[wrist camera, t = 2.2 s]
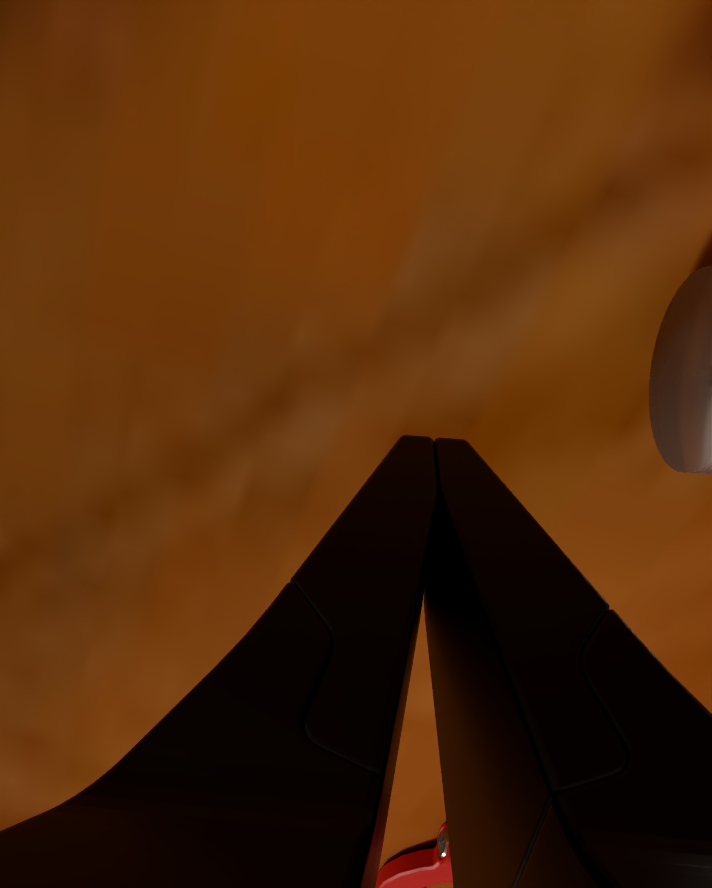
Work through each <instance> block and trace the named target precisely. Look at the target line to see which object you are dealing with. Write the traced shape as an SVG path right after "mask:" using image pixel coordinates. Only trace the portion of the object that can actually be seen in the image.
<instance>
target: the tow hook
mask: <svg viewBox="0 0 712 888" xmlns="http://www.w3.org/2000/svg"><path fill="white" fill-rule="evenodd" d="M447 882H453V878H452V868H451V859H450V849H449V840H448V831H447V823H444V824H443V825H442V826H441V829H440V831H439V834H438V839H437V846H436V847H435V848H431V849H424V850H419V851H415V852H412V853H408V854H405V855H401V856H399V857H398V858H396V859H394V860H392V861H390V862H389V863H387V864H385V865H384V866H383V868H382V869H381V870H380V871H379V873H378V876H377V882H376V888H424V887H427V886H431V885H435V884H439V883H447Z"/></svg>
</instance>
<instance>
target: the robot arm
mask: <svg viewBox="0 0 712 888" xmlns="http://www.w3.org/2000/svg"><path fill="white" fill-rule="evenodd" d="M423 594H424V611H425V623H426V632H427V642H428V651H429V661H430V670H431V679H432V689H433V698H434V708H435V717H436V727H437V736H438V746H439V755H440V764H441V774H442V783H443V793H444V802H445V812H446V821H447V831H448V840H449V849H450V859H451V868H452V878H453V887H454V888H712V714H711V713H710V712H709V711H708V710H707V709H706V708H705V707H704V706H703V705H702V704H701V703H700V702H699V701H698V700H697V699H696V698H695V697H694V696H693V695H692V694H691V693H690V692H689V691H688V690H687V689H686V688H685V687H684V686H683V685H682V684H681V683H680V682H679V681H678V680H677V679H676V678H675V677H674V676H673V675H672V674H671V673H670V672H669V671H668V670H667V669H666V668H665V667H664V665H663V664H662V663H661V662H660V661H659V660H658V659H657V658H656V657H655V656H654V655H653V653H652V652H651V651H650V650H649V649H648V648H647V647H646V646H645V645H644V644H643V643H642V641H641V640H640V639H639V638H638V637H637V636H636V635H635V634H634V633H633V631H632V630H631V629H630V628H629V627H628V626H627V625H626V623H625V622H624V621H623V620H622V619H621V618H620V616H619V615H618V614H617V613H616V612H615V611H614V610H609V604H608V603H607V602H606V601H605V600H604V598H603V597H602V596H601V595H600V594H599V593H598V592H597V590H596V589H595V588H594V587H593V586H592V585H591V583H590V582H589V581H588V580H587V579H586V578H585V577H584V575H583V574H582V573H581V572H580V571H579V570H578V568H577V567H576V566H575V565H574V564H573V563H572V562H571V560H570V559H569V558H568V557H567V556H566V555H565V553H564V552H563V551H562V550H561V549H560V548H559V547H558V545H557V544H556V543H555V542H554V541H553V540H552V538H551V537H550V536H549V535H548V534H547V533H546V532H545V530H544V529H543V528H542V527H541V526H540V525H539V523H538V522H537V521H536V520H535V519H534V518H533V517H532V515H531V514H530V513H529V512H528V511H527V510H526V508H525V507H524V506H523V505H522V504H521V503H520V502H519V500H518V499H517V498H516V497H515V496H514V495H513V493H512V492H511V491H510V490H509V489H508V488H507V487H506V485H505V484H504V483H503V482H502V481H501V480H500V478H499V477H498V476H497V475H496V474H495V473H494V472H493V470H492V469H491V468H490V467H489V466H488V465H487V463H486V462H485V461H484V460H483V459H482V458H481V457H480V455H479V454H478V453H477V452H476V451H475V450H474V448H473V447H472V446H471V445H470V444H469V443H468V442H467V441H466V440H463V439H451V438H437V439H435V441H434V442H433V440H432V439H431V438H430V437H424V436H411V435H403V436H401V437H400V438H399V440H398V441H397V442H396V443H395V445H394V446H393V447H392V449H391V450H390V451H389V452H388V454H387V455H386V456H385V458H384V459H383V460H382V462H381V463H380V464H379V465H378V467H377V468H376V469H375V471H374V472H373V473H372V475H371V476H370V477H369V478H368V480H367V481H366V482H365V484H364V485H363V486H362V487H361V489H360V490H359V491H358V493H357V494H356V495H355V497H354V498H353V499H352V500H351V502H350V503H349V504H348V506H347V507H346V508H345V510H344V511H343V512H342V513H341V515H340V516H339V517H338V519H337V520H336V521H335V523H334V524H333V525H332V526H331V528H330V529H329V530H328V532H327V533H326V534H325V535H324V537H323V538H322V539H321V541H320V542H319V543H318V545H317V546H316V547H315V548H314V550H313V551H312V552H311V554H310V555H309V556H308V558H307V559H306V560H305V561H304V563H303V564H302V565H301V567H300V568H299V569H298V570H297V572H296V573H295V574H294V576H293V577H292V578H291V581H290V583H287V584H286V586H285V587H284V588H283V589H282V591H281V592H280V593H279V595H278V596H277V597H276V599H275V600H274V601H273V602H272V604H271V605H270V606H269V607H268V609H267V610H266V611H265V612H264V613H263V615H262V616H261V617H260V618H259V619H258V621H257V622H256V623H255V624H254V625H253V627H252V628H251V629H250V630H249V631H248V633H247V634H246V635H245V636H244V637H243V638H242V639H241V640H240V641H239V642H238V643H237V644H236V645H235V646H234V647H233V649H232V650H231V651H230V652H229V653H228V654H227V655H226V656H225V657H224V658H223V659H222V660H221V661H220V662H219V663H218V664H217V665H216V666H215V667H214V668H213V669H212V670H211V671H210V672H209V673H208V674H207V675H206V676H205V677H204V678H203V679H202V680H201V681H200V682H199V683H198V684H197V685H196V686H195V687H194V688H193V689H192V690H191V691H190V692H189V693H188V694H187V695H186V696H185V697H184V698H183V699H182V700H181V701H180V702H179V703H178V704H177V705H176V706H175V707H174V708H173V709H172V710H171V711H170V712H169V713H168V714H167V715H166V716H165V717H164V718H163V719H162V720H161V721H160V722H159V723H158V724H157V725H155V726H154V727H153V728H152V729H151V730H150V731H149V732H148V733H147V734H146V735H145V736H144V737H143V738H142V739H141V740H140V741H139V742H138V743H137V744H136V745H135V746H134V747H133V748H132V749H131V750H130V751H129V752H128V753H127V754H126V755H125V756H124V757H123V758H122V759H121V760H120V761H119V762H118V763H117V764H115V765H114V766H113V767H112V768H111V769H110V770H109V771H107V772H106V773H105V774H104V775H103V776H101V777H100V778H99V779H98V780H96V781H95V782H94V783H92V784H91V785H90V786H88V787H87V788H85V789H84V790H82V791H81V792H80V793H78V794H77V795H75V796H74V797H72V798H70V799H69V800H67V801H65V802H64V803H62V804H60V805H58V806H56V807H54V808H52V809H50V810H48V811H46V812H43V813H41V814H39V815H37V816H34V817H32V818H30V819H27V820H25V821H23V822H20V823H18V824H16V825H13V826H11V827H9V828H7V829H4V830H2V831H0V888H376V882H377V876H378V870H379V864H380V858H381V852H382V846H383V840H384V834H385V828H386V822H387V816H388V809H389V803H390V797H391V791H392V785H393V779H394V773H395V767H396V761H397V755H398V749H399V743H400V737H401V731H402V725H403V719H404V713H405V707H406V701H407V694H408V688H409V682H410V676H411V670H412V664H413V658H414V652H415V646H416V640H417V634H418V628H419V622H420V615H421V608H422V601H423Z"/></svg>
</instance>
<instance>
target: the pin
mask: <svg viewBox="0 0 712 888" xmlns="http://www.w3.org/2000/svg"><path fill="white" fill-rule="evenodd" d="M649 411H650V420H651V427H652V432H653V436H654V439H655V443H656V446H657V448H658V450H659V453H660V454H661V456H662V458H663V459H664V461H665V462H666V463H667V464H668V465H669V466H670V467H671V468H673V469H674V470H676V471H679V472H685V473H698V474H711V475H712V266H706V267H702V268H700V269H698V270H696V271H695V272H694V273H692V274H691V275H690V276H689V277H688V278H687V279H686V280H685V281H684V282H683V284H682V285H681V286H680V287H679V289H678V290H677V292H676V293H675V295H674V297H673V299H672V300H671V302H670V304H669V306H668V308H667V311H666V313H665V315H664V318H663V321H662V323H661V326H660V329H659V333H658V336H657V339H656V344H655V348H654V352H653V358H652V364H651V371H650V382H649Z"/></svg>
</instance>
